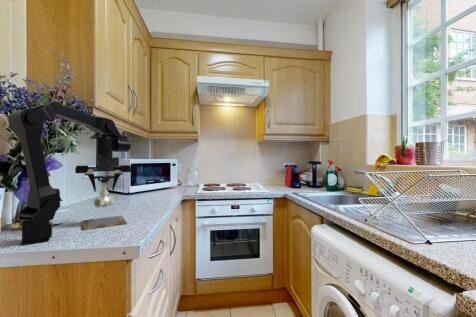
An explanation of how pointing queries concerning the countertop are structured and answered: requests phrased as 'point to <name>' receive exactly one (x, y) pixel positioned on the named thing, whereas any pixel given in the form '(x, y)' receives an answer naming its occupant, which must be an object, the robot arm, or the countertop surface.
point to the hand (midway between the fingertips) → (104, 191)
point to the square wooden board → (103, 222)
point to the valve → (104, 193)
